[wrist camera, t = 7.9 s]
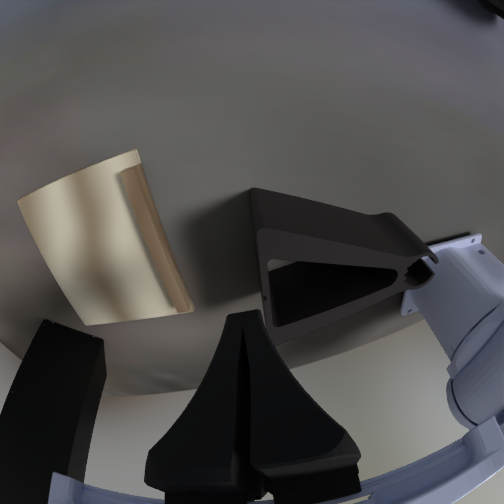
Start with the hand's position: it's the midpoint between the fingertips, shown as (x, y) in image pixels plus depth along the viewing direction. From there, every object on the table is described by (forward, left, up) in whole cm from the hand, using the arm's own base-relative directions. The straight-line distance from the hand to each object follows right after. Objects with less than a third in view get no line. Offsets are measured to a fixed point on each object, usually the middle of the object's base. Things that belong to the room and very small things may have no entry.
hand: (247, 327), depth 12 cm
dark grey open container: (-1, +2, -7) cm, 7 cm away
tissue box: (+22, +11, -10) cm, 27 cm away
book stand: (+12, 0, -10) cm, 15 cm away
